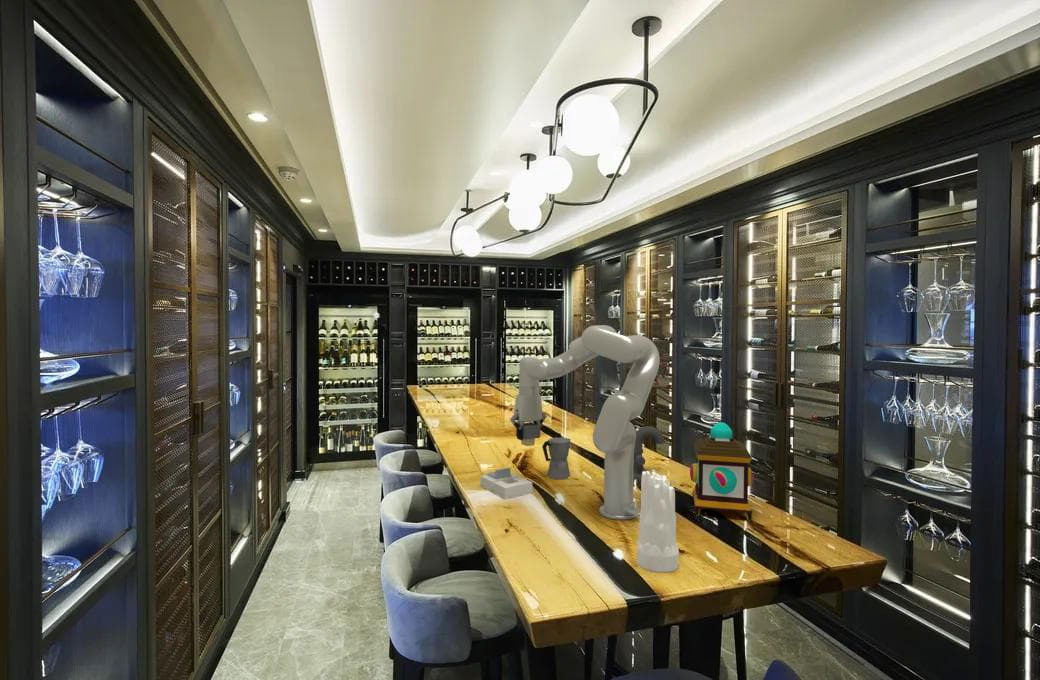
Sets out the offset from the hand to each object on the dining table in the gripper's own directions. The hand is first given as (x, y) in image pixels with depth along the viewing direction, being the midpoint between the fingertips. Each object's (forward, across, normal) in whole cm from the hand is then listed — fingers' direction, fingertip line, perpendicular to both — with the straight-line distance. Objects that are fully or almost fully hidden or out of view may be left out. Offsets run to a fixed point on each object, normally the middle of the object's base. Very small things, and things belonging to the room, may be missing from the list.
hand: (528, 438), depth 196 cm
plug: (+2, 0, 0) cm, 2 cm away
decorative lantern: (+19, -45, +51) cm, 71 cm away
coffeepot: (+21, -21, -10) cm, 31 cm away
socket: (+21, +5, -7) cm, 22 cm away
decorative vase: (+19, +3, +67) cm, 70 cm away
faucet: (+20, -55, +7) cm, 59 cm away
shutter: (+17, +5, -12) cm, 21 cm away
